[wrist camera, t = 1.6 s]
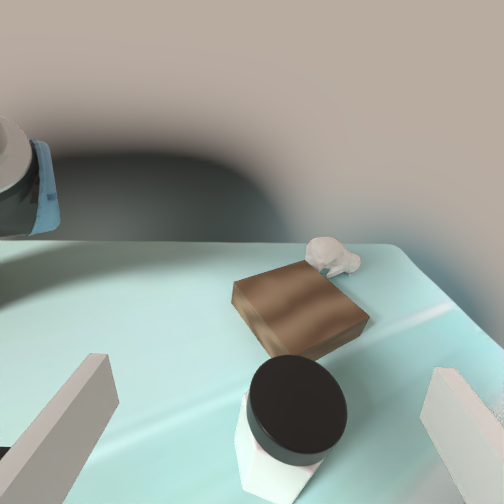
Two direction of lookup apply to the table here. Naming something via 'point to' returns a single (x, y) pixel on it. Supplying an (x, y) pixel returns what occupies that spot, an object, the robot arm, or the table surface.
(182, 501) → the table surface
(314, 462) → the jar
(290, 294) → the walnut block
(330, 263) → the white animal figurine
